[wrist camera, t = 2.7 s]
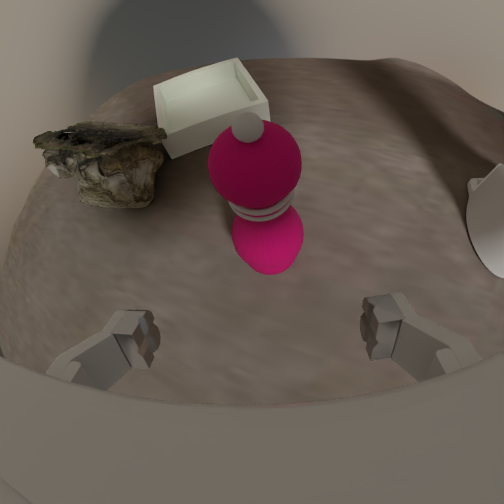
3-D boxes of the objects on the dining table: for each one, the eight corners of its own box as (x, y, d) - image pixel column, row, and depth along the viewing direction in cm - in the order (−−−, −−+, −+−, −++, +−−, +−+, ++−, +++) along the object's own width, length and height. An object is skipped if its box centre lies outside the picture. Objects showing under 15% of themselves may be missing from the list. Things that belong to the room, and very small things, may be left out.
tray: (241, 77, 44) (237, 57, 40) (270, 125, 38) (268, 101, 34) (162, 104, 44) (153, 86, 40) (171, 159, 38) (159, 138, 34)
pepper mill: (227, 252, 32) (155, 132, 13) (267, 210, 33) (243, 69, 15) (273, 292, 30) (249, 195, 11) (314, 245, 31) (340, 110, 12)
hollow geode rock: (82, 174, 48) (21, 191, 35) (87, 116, 42) (22, 123, 29) (173, 216, 39) (90, 250, 27) (187, 131, 33) (91, 136, 21)
